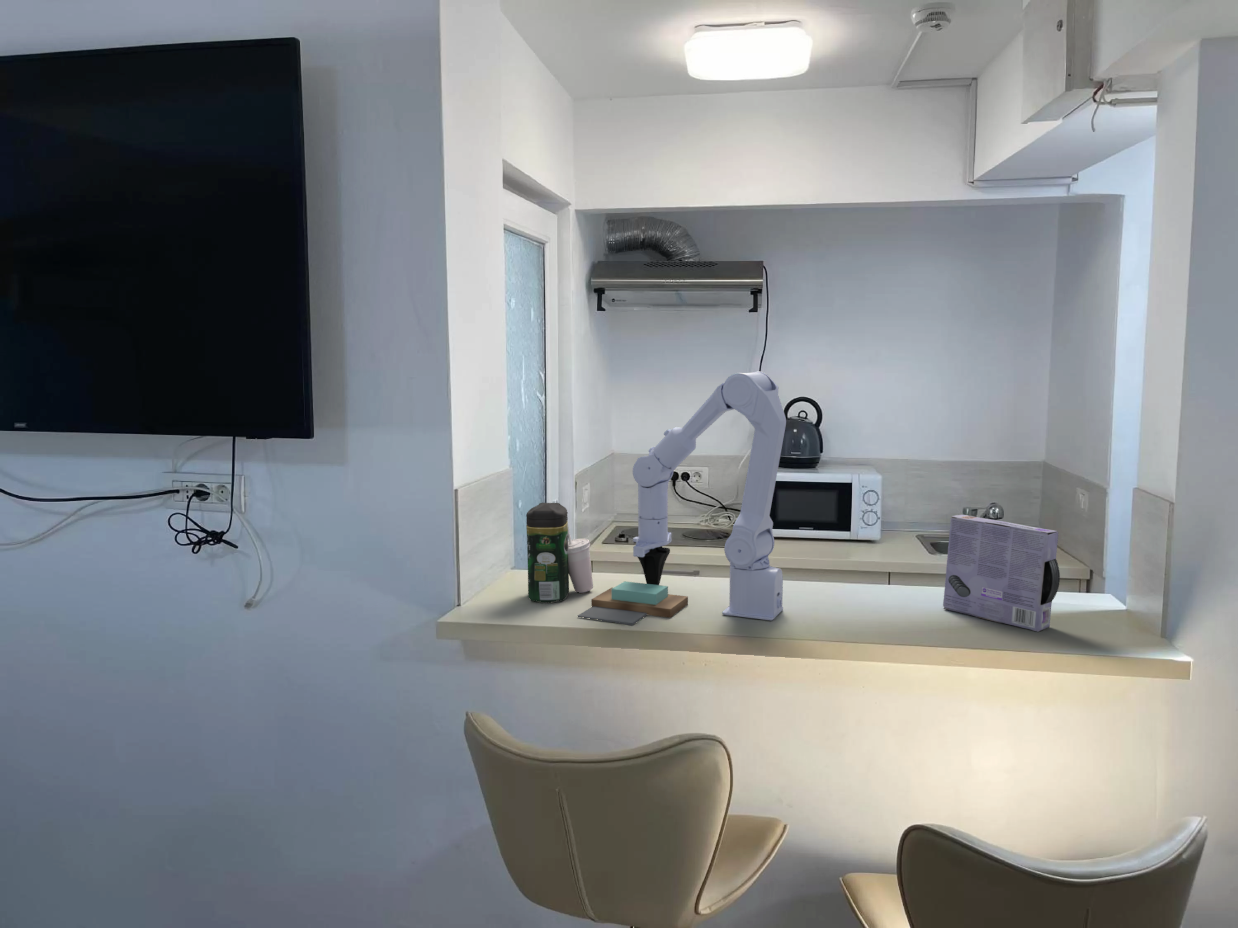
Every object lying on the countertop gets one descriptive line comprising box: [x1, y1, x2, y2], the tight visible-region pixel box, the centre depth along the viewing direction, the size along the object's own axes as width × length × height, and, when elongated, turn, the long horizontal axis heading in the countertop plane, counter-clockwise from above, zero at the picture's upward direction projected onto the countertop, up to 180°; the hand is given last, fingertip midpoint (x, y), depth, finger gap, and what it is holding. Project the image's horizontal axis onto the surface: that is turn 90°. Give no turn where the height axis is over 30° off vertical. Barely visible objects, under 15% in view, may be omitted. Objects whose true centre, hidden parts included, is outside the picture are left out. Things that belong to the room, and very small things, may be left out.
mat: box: [577, 606, 648, 626], centre depth 168 cm, size 11×7×1 cm, turn 65°
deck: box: [590, 587, 689, 619], centre depth 175 cm, size 16×9×2 cm, turn 65°
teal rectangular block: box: [611, 581, 669, 605], centre depth 175 cm, size 9×6×2 cm, turn 65°
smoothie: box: [568, 526, 594, 594], centre depth 184 cm, size 6×6×14 cm
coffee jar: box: [525, 502, 570, 604], centre depth 180 cm, size 10×8×19 cm
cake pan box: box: [942, 514, 1061, 633], centre depth 165 cm, size 19×5×18 cm, turn 41°
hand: (653, 585), depth 180 cm, fingers closed
